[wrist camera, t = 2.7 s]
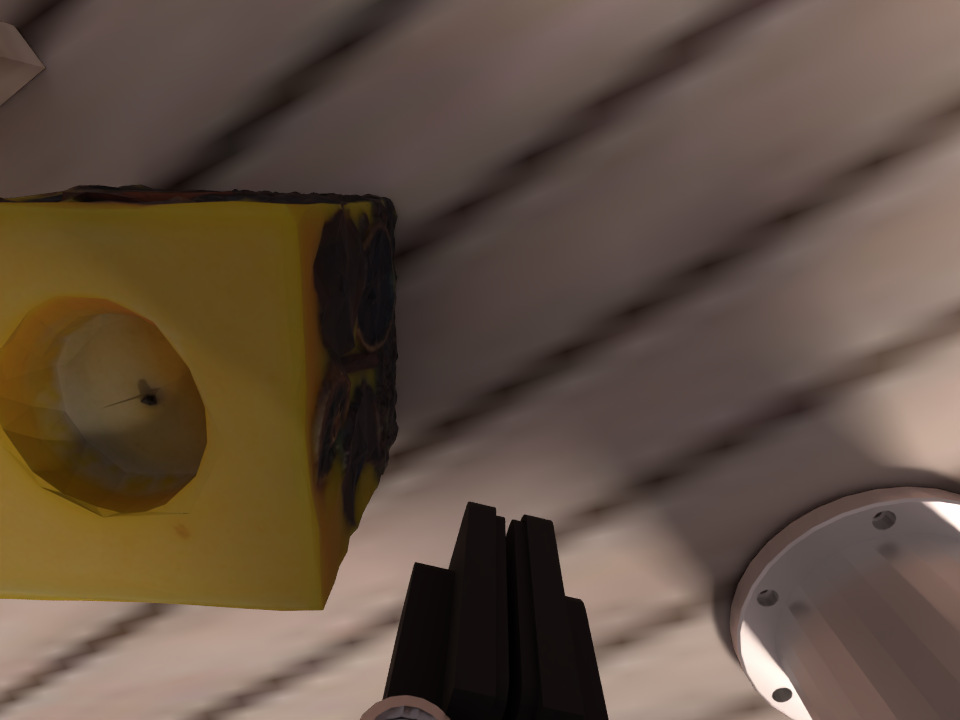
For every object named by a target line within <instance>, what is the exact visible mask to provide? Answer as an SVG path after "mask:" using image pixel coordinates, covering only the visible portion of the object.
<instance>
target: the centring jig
mask: <svg viewBox="0 0 960 720" xmlns="http://www.w3.org/2000/svg"><path fill="white" fill-rule="evenodd" d="M43 69H45V67H44V65H43V64H42V63H41V61H40V60H39V59H38V57H37V56H36V55H35V53H34V52H33V51H32V49H31V48H30V47H29V45H28V44H27V42H26V41H25V40H24V38H23V37H22V36H21V34H20V33H19V32H18V30H17V29H16V28H15V26H13V25H10V24H7V23H4V22H1V21H0V106H1V105H2V104H3V103H4V102H5V101H7V100H8V99H9V98H10V97H11V96H13V95H14V94H15V93H16V92H17V91H18V90H20V89H21V88H22V87H23V86H24V85H26V84H27V83H28V82H29V81H30V80H32V79H33V78H34V77H35V76H36V75H37V74H39V73H40V72H41V71H42V70H43Z"/></svg>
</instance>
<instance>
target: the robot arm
mask: <svg viewBox="0 0 960 720" xmlns="http://www.w3.org/2000/svg"><path fill="white" fill-rule="evenodd" d="M730 632H731V638H732V643H733V648H734V650H735V653H736V655H737V657H738V659H739V662H740V664H741V666H742V668H743V671H744V673H745V674H746V676H747V678H748V679H749V681H750V682H751V684H752V686H753V687H754V689H755V690H756V691H757V693H758V694H759V695H760V696H761V697H762V698H763V699H764V700H765V701H766V702H767V703H768V704H769V705H771V706H772V707H774V708H775V709H777V710H778V711H780V712H781V713H783V714H784V715H786V716H787V717H789V718H791V719H793V720H960V494H956V493H952V492H948V491H945V490H941V489H934V488H921V487H896V488H884V489H875V490H871V491H866V492H862V493H858V494H854V495H850V496H846V497H843V498H840V499H838V500H836V501H833V502H831V503H828V504H826V505H823V506H821V507H818V508H816V509H814V510H812V511H811V512H809V513H807V514H806V515H804V516H802V517H801V518H799V519H797V520H796V521H794V522H792V523H790V524H789V525H788V526H787V527H785V528H784V529H783V530H782V531H781V532H779V533H778V534H777V535H776V536H775V537H773V538H772V539H771V540H770V541H769V542H767V544H766V545H765V546H764V547H763V548H762V549H761V551H760V552H759V553H758V554H757V555H756V557H755V558H754V559H753V560H752V561H751V562H750V564H749V566H748V568H747V569H746V571H745V573H744V575H743V576H742V578H741V580H740V582H739V583H738V586H737V589H736V592H735V596H734V599H733V602H732V605H731V616H730ZM360 720H609V719H608V715H607V710H606V705H605V700H604V695H603V690H602V686H601V681H600V676H599V671H598V666H597V662H596V657H595V652H594V647H593V642H592V638H591V633H590V628H589V623H588V618H587V613H586V609H585V606H584V603H583V602H582V601H581V599H576V598H572V597H567V596H565V593H564V587H563V581H562V575H561V569H560V563H559V556H558V550H557V544H556V538H555V532H554V526H553V522H552V521H551V520H546V519H542V518H538V517H534V516H529V515H523V517H522V519H521V521H517V520H512V521H511V523H510V525H509V528H508V532H507V535H506V533H505V518H504V517H500V516H496V508H495V507H491V506H486V505H482V504H478V503H473V502H468V503H467V506H466V509H465V513H464V516H463V520H462V523H461V527H460V530H459V534H458V537H457V541H456V544H455V548H454V551H453V555H452V558H451V562H450V565H449V569H443V568H439V567H434V566H430V565H426V564H421V563H417V562H415V564H414V567H413V571H412V575H411V578H410V582H409V586H408V590H407V594H406V598H405V602H404V606H403V610H402V614H401V619H400V623H399V627H398V632H397V636H396V640H395V645H394V650H393V654H392V659H391V663H390V668H389V672H388V677H387V682H386V686H385V691H384V695H383V700H382V701H379V702H377V703H375V704H374V705H373V706H372V707H371V708H369V709H368V710H367V711H366V712H365V713H364V714H363V715H362V716H361V718H360Z"/></svg>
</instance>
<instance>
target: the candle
mask: <svg viewBox="0 0 960 720" xmlns="http://www.w3.org/2000/svg"><path fill="white" fill-rule="evenodd" d="M396 220H397V214H396V211H395V208H394V205H393V203H392V201H391V199H389V198H386V197H382V198H381V197H378V196H374V195H370V194H366V195H363V196H359V195H341V194H340V195H338V194H334V193H329V194H318V193H314V192H313V193H310V194H301V193H298V192H291V193H278V192H274V193H272V192H270V191H262V192H261V191H259V192H254V191H249V190H241V191H239V190H237V189H234V190H232V191H224V192H220V191H205V190H196V191H171V190H155V189H151V188H149V187H146V186H143V185H130V186H122V187H119V188H116V187H108V186H100V185H89V186H76V187H73V188H70V189H68V190H66V191H61V192H54V193H47V194H40V195H33V196H25V197H17V198H1V197H0V599H29V600H81V601H120V602H150V603H170V604H187V605H202V606H216V607H231V608H246V609H262V610H278V611H298V610H323V609H324V607H325V604H326V602H327V599H328V597H329V595H330V592H331V590H332V587H333V585H334V583H335V579H336V576H337V572H338V569H339V566H340V564H341V562H342V560H343V559H344V557H345V555H346V553H347V551H348V545H349V539H350V536H351V535H352V534H353V533H354V532H355V531H356V529H357V528H358V526H359V523H360V520H361V517H362V514H363V512H364V510H365V508H366V506H367V504H368V503H369V501H370V499H371V497H372V495H373V493H374V491H375V490H376V489H377V487H378V485H379V482H380V478H381V475H382V474H383V473H384V471H385V469H386V467H387V465H388V460H389V449H390V447H391V446H392V444H393V443H394V442H395V440H396V436H397V432H398V426H397V423H396V421H395V420H396V411H395V404H396V401H397V393H396V389H395V372H396V367H395V361H396V360H397V358H398V353H397V343H396V328H395V302H396V292H395V289H396V280H397V276H396V272H395V269H394V265H393V256H394V247H395V239H394V228H395V224H396Z"/></svg>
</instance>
